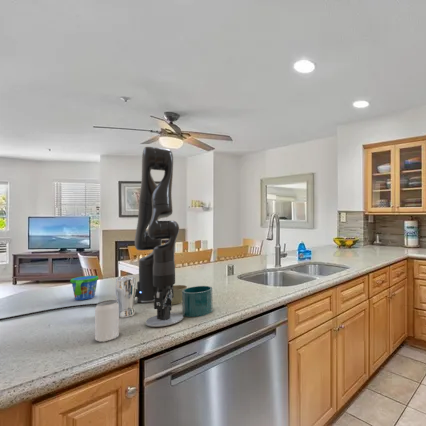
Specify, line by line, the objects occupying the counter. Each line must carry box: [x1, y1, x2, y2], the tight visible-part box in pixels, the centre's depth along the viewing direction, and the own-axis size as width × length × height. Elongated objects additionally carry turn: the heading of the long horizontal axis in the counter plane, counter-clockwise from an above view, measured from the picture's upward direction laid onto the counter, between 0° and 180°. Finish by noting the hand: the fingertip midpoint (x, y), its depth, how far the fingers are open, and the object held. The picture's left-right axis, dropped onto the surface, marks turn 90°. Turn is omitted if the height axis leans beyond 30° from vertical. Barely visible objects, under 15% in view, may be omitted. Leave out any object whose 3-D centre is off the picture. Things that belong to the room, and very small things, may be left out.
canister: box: [181, 285, 214, 318], centre depth 123 cm, size 12×12×10 cm
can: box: [94, 299, 120, 343], centre depth 98 cm, size 6×6×12 cm
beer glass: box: [115, 276, 137, 319], centre depth 120 cm, size 7×7×15 cm
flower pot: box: [171, 284, 188, 306], centre depth 135 cm, size 10×10×7 cm
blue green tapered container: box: [69, 275, 100, 301], centre depth 144 cm, size 16×10×10 cm
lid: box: [145, 304, 184, 328], centre depth 112 cm, size 13×13×6 cm
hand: (164, 314), depth 112 cm, fingers open, 8 cm apart
